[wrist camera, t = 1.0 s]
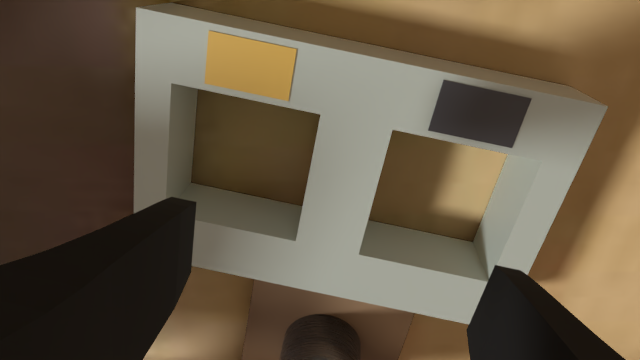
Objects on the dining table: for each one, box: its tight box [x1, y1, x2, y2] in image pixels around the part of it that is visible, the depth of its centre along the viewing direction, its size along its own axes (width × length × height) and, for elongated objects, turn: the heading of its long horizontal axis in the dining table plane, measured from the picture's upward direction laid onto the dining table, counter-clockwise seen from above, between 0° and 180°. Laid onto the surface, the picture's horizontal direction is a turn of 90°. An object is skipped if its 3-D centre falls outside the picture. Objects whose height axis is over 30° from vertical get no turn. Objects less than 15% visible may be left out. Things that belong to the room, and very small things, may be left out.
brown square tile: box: [242, 279, 415, 360], centre depth 23 cm, size 8×8×1 cm
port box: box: [134, 3, 608, 324], centre depth 18 cm, size 10×16×3 cm, turn 79°
